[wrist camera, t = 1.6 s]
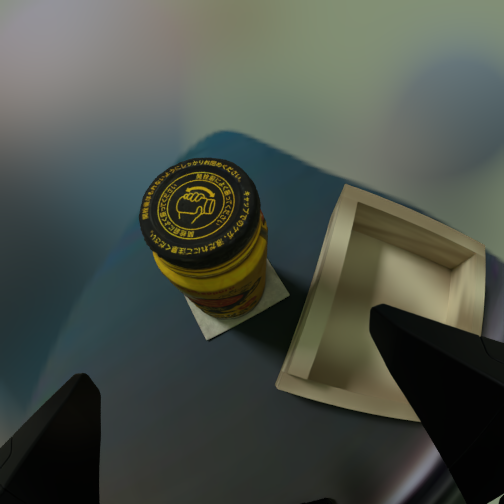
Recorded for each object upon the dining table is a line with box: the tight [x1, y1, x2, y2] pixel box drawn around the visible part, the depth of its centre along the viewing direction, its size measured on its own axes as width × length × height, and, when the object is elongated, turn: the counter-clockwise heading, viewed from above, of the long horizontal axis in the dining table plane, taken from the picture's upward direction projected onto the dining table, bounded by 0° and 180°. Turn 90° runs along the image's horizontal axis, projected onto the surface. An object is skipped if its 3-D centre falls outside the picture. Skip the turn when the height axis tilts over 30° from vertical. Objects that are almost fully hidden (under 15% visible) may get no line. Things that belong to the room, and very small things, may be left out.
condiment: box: [139, 158, 290, 340], centre depth 17 cm, size 7×8×12 cm
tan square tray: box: [275, 184, 485, 422], centre depth 18 cm, size 15×14×5 cm
